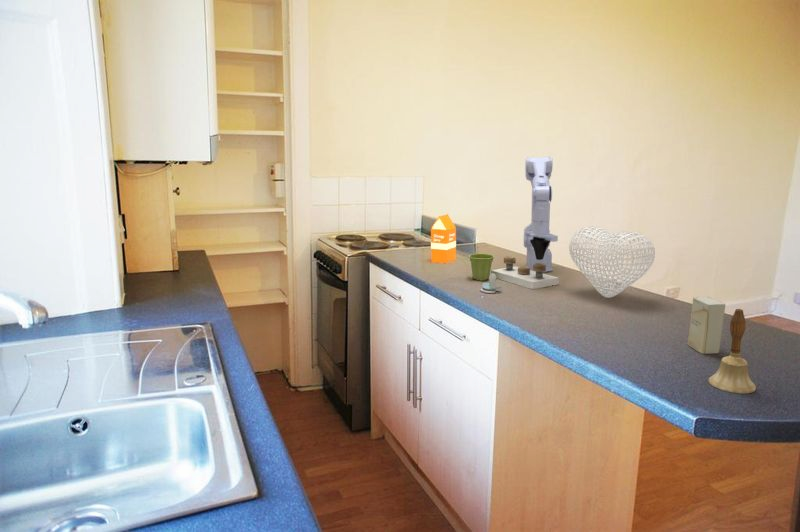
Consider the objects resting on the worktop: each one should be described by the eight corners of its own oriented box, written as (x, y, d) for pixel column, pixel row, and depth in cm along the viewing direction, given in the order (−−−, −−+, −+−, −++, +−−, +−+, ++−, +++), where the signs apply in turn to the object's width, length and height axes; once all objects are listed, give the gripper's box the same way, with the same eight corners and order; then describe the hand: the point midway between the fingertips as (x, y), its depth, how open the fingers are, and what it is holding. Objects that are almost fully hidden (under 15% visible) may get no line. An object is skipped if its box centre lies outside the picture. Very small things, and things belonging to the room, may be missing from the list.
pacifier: (489, 295, 184) (503, 292, 187) (489, 277, 182) (503, 274, 185) (476, 291, 190) (489, 288, 193) (475, 273, 189) (489, 270, 191)
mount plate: (515, 272, 215) (515, 266, 214) (558, 284, 195) (558, 277, 195) (491, 276, 209) (491, 270, 209) (532, 289, 190) (533, 282, 189)
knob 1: (510, 267, 211) (510, 255, 210) (517, 269, 208) (518, 257, 207) (501, 268, 209) (501, 256, 208) (508, 270, 206) (509, 258, 205)
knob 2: (539, 275, 198) (539, 262, 197) (548, 277, 194) (548, 264, 193) (530, 276, 196) (530, 264, 195) (538, 279, 192) (539, 266, 191)
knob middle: (524, 277, 205) (524, 265, 204) (532, 280, 201) (532, 267, 200) (515, 279, 203) (515, 267, 202) (523, 281, 199) (523, 269, 198)
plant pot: (493, 275, 211) (493, 253, 209) (494, 281, 201) (495, 258, 200) (468, 275, 212) (468, 253, 210) (468, 281, 202) (469, 258, 201)
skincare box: (686, 345, 134) (691, 297, 132) (704, 344, 134) (709, 296, 132) (702, 354, 128) (707, 304, 125) (721, 353, 128) (726, 303, 126)
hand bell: (751, 397, 106) (760, 318, 103) (703, 386, 111) (711, 310, 108) (759, 383, 112) (768, 308, 109) (714, 373, 118) (721, 301, 114)
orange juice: (456, 260, 242) (456, 214, 237) (446, 263, 234) (446, 217, 230) (440, 258, 246) (440, 213, 242) (430, 262, 238) (430, 216, 234)
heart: (661, 303, 169) (667, 232, 165) (629, 311, 162) (634, 237, 157) (589, 285, 193) (592, 222, 188) (557, 292, 185) (560, 226, 181)
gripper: (518, 219, 195) (517, 257, 198) (547, 224, 183) (545, 264, 185) (533, 218, 198) (532, 255, 201) (562, 222, 186) (561, 261, 189)
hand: (539, 259), depth 193 cm, fingers closed
